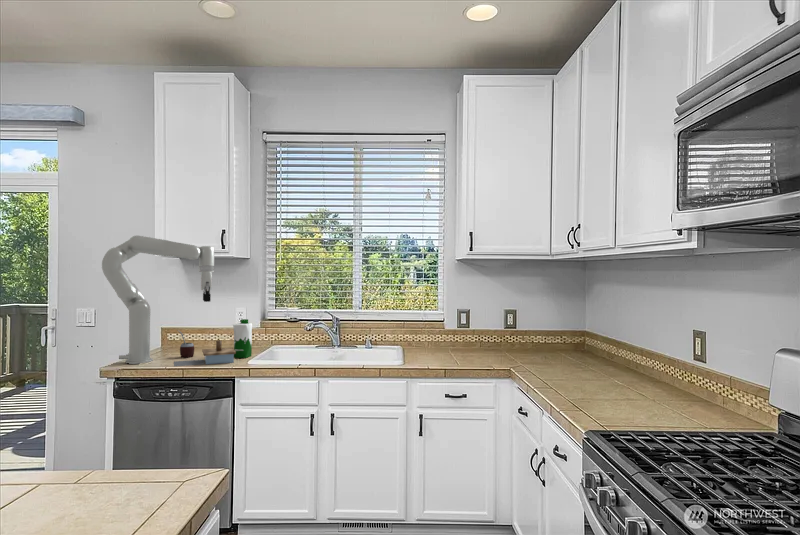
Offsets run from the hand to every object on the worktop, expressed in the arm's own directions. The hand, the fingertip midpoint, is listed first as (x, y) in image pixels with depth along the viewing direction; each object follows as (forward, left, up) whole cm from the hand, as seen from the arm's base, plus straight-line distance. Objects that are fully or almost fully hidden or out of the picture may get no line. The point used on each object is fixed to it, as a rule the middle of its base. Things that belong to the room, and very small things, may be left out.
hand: (206, 301), depth 275 cm
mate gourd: (-10, +1, -31) cm, 32 cm away
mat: (-9, -17, -30) cm, 36 cm away
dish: (+5, -18, -30) cm, 36 cm away
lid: (+5, -18, -25) cm, 31 cm away
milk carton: (+18, -6, -31) cm, 36 cm away
